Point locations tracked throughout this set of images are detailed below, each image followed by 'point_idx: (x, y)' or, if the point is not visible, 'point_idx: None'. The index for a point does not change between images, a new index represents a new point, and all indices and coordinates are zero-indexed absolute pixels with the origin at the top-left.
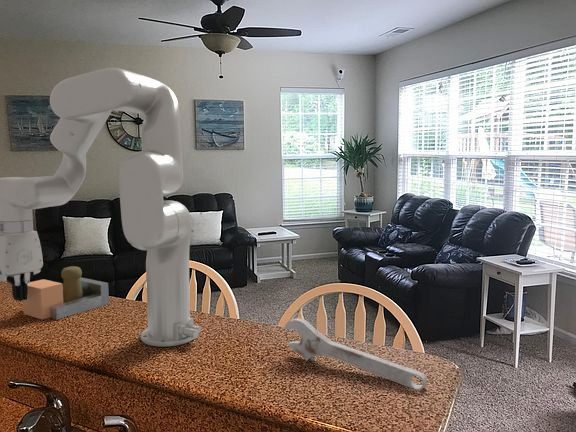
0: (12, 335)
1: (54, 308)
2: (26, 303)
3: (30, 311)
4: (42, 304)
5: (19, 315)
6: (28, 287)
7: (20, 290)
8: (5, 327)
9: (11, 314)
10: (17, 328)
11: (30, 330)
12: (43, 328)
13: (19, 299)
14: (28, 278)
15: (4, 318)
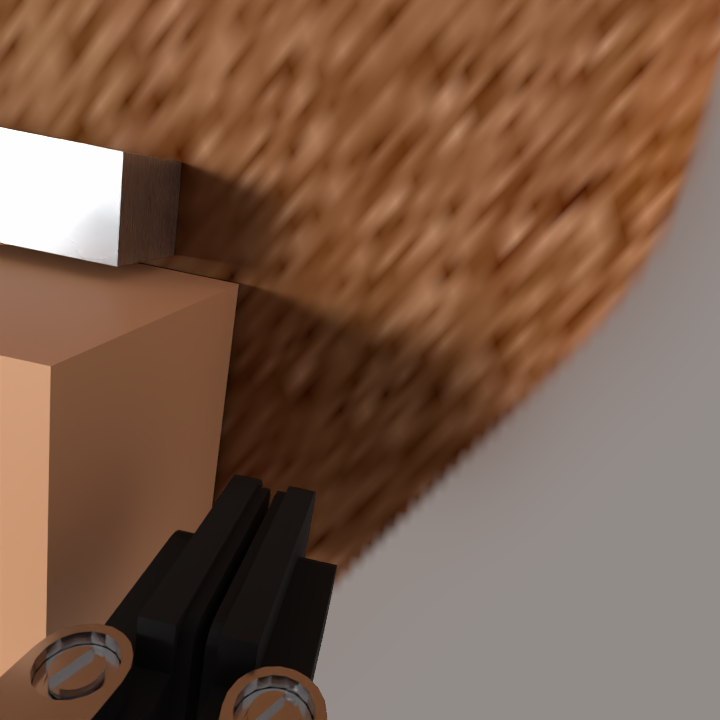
0: (627, 216)
1: (123, 185)
2: None
3: (203, 463)
4: (167, 309)
5: None
6: None
7: (280, 582)
8: (482, 432)
9: None
10: (470, 322)
11: (475, 168)
12: (393, 92)
13: (308, 526)
14: (3, 710)
15: None
